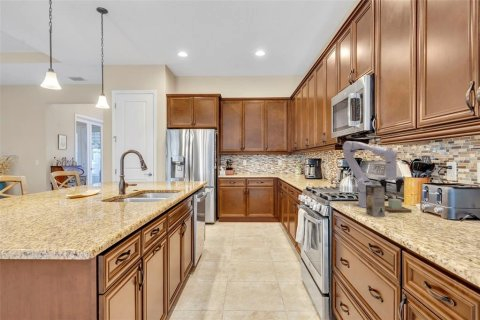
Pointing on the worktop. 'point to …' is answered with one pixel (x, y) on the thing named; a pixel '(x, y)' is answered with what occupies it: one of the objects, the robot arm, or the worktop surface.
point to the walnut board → (397, 210)
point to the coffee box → (375, 200)
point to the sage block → (395, 203)
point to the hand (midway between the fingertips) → (391, 192)
